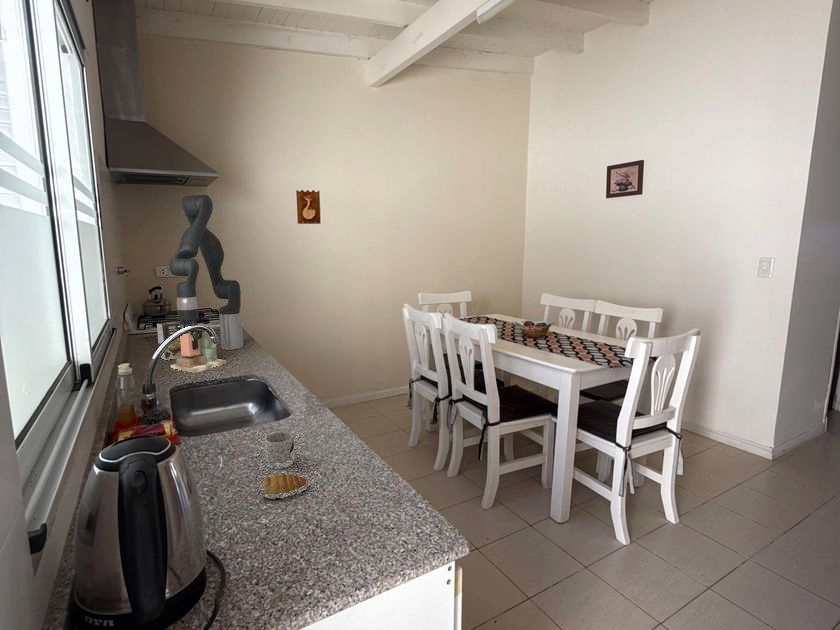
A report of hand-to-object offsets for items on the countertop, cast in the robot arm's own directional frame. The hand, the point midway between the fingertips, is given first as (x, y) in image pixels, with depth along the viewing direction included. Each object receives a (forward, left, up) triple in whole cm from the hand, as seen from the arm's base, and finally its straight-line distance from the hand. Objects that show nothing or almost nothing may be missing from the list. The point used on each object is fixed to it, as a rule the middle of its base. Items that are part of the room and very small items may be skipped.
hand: (190, 348), depth 198 cm
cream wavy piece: (-3, 0, -8) cm, 9 cm away
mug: (+47, +90, -9) cm, 102 cm away
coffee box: (-7, -22, -9) cm, 25 cm away
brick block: (0, 0, -2) cm, 2 cm away
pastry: (+57, +101, -9) cm, 116 cm away
